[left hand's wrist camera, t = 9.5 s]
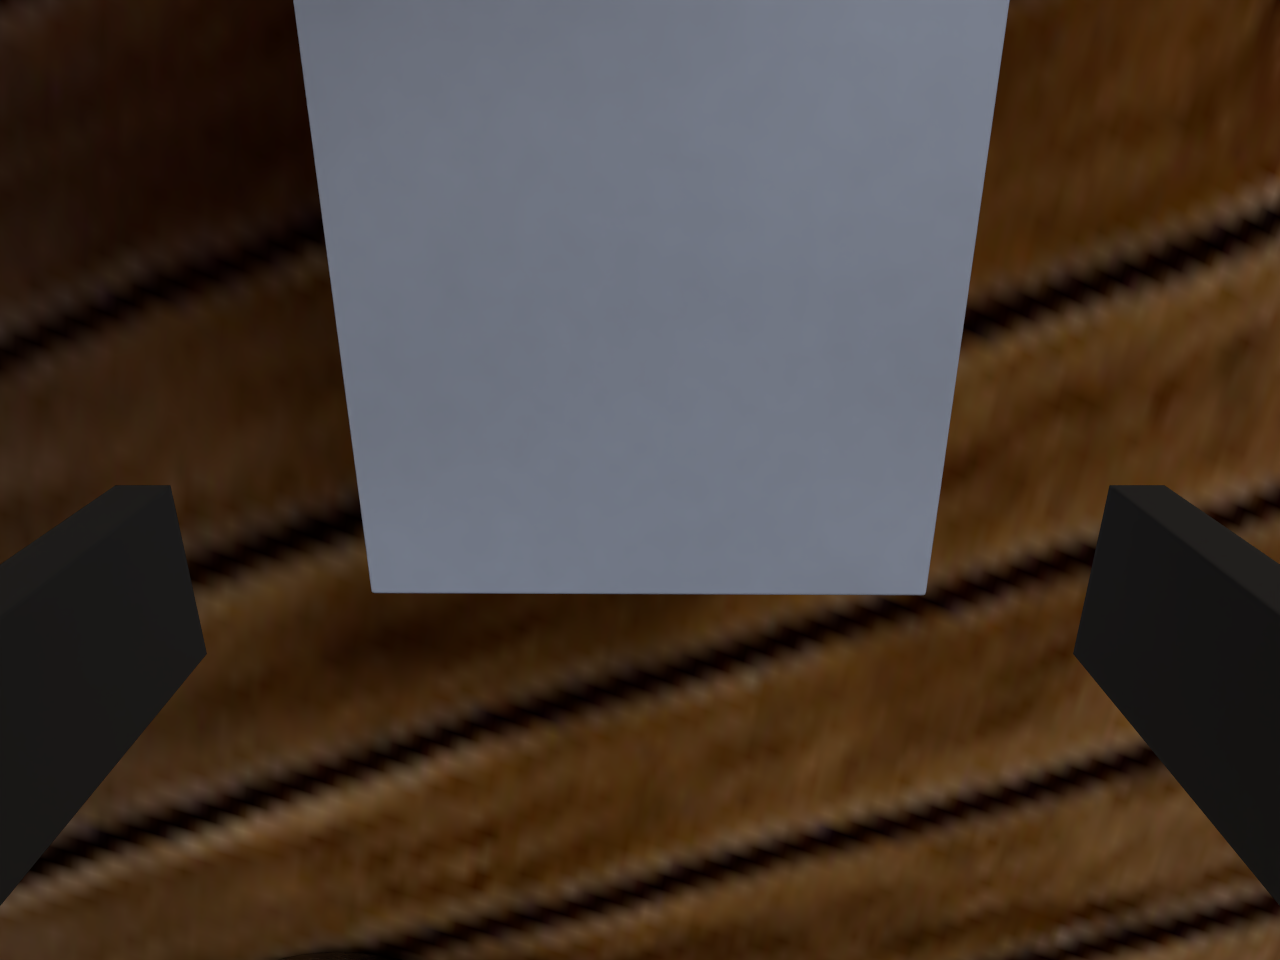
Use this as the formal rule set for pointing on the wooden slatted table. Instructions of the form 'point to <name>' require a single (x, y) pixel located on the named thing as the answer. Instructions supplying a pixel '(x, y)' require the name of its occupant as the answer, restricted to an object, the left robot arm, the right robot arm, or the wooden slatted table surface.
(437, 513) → the cabinet
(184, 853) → the wooden slatted table surface
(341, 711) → the wooden slatted table surface
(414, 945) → the wooden slatted table surface
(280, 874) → the wooden slatted table surface
